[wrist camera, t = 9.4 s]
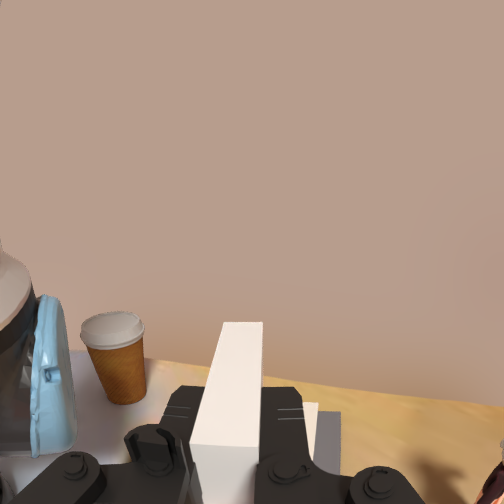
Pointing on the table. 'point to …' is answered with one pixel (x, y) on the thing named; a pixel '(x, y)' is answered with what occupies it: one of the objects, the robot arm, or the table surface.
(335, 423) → the mat
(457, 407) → the table surface
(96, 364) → the disposable coffee cup
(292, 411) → the robot arm
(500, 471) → the grandmother figurine
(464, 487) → the table surface
